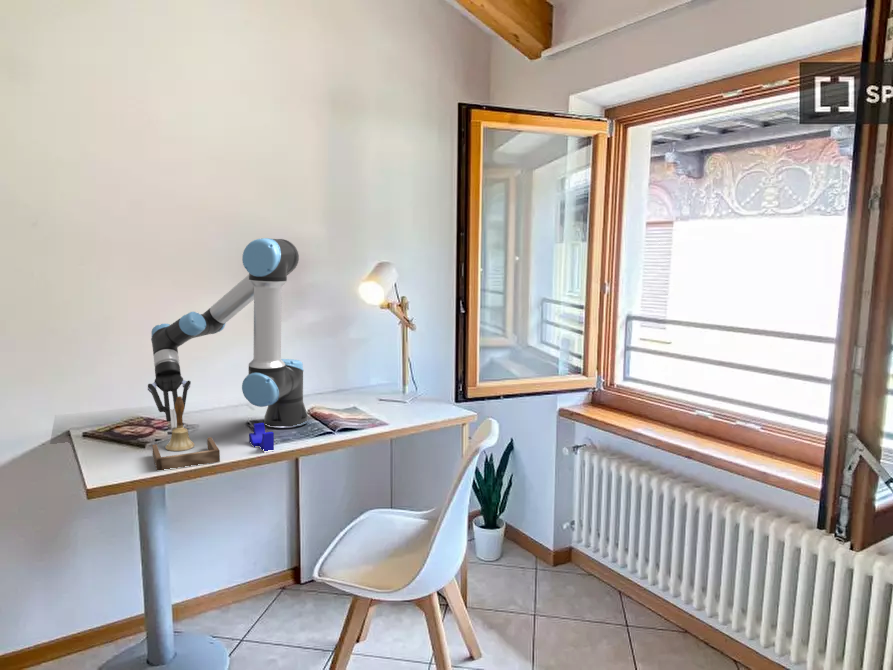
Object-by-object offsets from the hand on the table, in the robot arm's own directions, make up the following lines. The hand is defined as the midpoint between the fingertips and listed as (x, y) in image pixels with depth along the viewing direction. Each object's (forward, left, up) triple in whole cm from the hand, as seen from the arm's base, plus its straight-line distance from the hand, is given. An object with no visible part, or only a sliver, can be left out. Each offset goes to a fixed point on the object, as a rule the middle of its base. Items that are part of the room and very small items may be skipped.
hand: (174, 429), depth 183 cm
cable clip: (-23, +13, -5) cm, 27 cm away
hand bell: (-1, +3, -5) cm, 6 cm away
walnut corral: (-1, +14, -5) cm, 15 cm away
